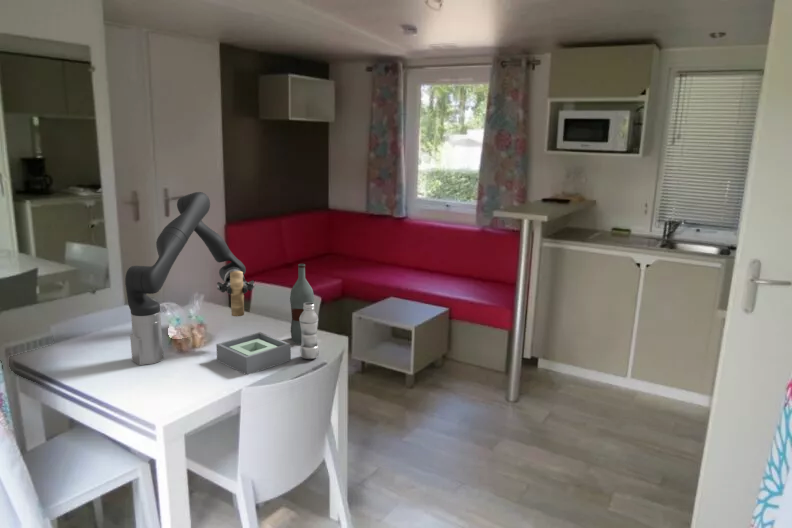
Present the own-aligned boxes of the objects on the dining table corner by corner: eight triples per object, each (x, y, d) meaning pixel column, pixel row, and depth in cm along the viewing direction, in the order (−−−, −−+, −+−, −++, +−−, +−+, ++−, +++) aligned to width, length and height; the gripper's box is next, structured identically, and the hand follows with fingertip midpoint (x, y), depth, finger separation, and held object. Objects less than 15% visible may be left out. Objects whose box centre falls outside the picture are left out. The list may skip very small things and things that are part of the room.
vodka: (297, 335, 225) (295, 261, 218) (318, 337, 222) (317, 263, 216) (286, 342, 216) (284, 266, 210) (308, 345, 214) (307, 268, 207)
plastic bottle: (315, 362, 198) (315, 307, 194) (297, 360, 199) (296, 305, 195) (321, 355, 204) (321, 302, 200) (303, 353, 205) (303, 300, 201)
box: (247, 374, 186) (246, 357, 185) (217, 360, 197) (216, 344, 196) (290, 360, 199) (290, 344, 198) (260, 347, 211) (259, 332, 209)
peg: (236, 317, 206) (234, 274, 202) (229, 314, 209) (227, 272, 205) (246, 314, 209) (245, 272, 206) (239, 312, 212) (238, 270, 209)
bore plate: (249, 367, 190) (249, 355, 189) (229, 357, 197) (228, 346, 197) (278, 357, 199) (278, 346, 198) (258, 348, 206) (257, 338, 205)
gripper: (215, 271, 217) (216, 282, 201) (253, 270, 222) (257, 280, 206) (215, 290, 218) (217, 302, 203) (253, 288, 223) (258, 300, 207)
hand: (237, 291), depth 204 cm, fingers closed on peg, 4 cm apart
